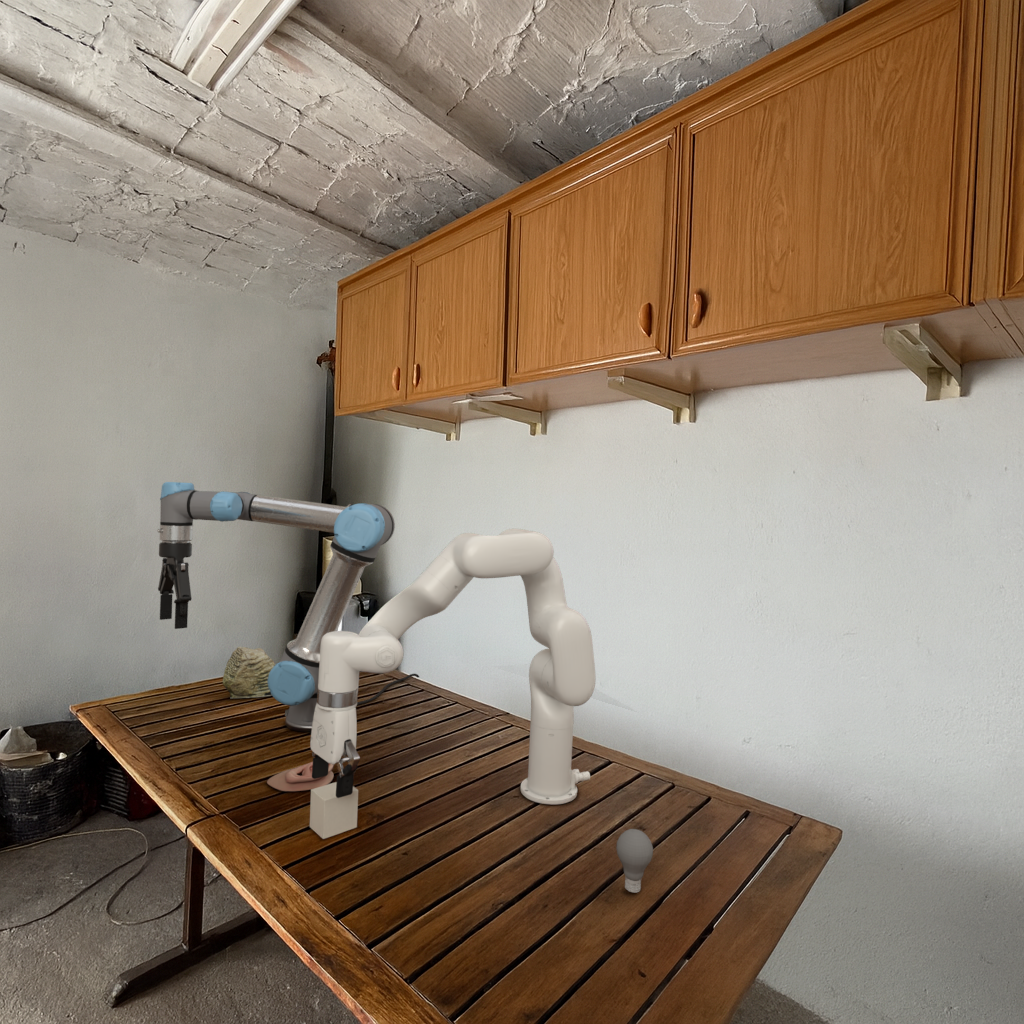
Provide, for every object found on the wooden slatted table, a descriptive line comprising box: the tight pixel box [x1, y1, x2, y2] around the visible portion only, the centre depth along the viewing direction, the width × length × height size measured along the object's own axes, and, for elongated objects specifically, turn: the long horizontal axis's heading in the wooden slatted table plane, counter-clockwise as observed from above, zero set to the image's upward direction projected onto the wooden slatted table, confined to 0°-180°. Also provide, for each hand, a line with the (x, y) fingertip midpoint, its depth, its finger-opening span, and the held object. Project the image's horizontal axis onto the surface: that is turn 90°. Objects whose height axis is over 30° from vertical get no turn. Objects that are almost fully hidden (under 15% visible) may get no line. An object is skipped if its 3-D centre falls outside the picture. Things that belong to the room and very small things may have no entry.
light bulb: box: [615, 828, 654, 894], centre depth 106 cm, size 6×6×10 cm
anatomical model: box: [266, 761, 335, 792], centre depth 140 cm, size 13×4×12 cm
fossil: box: [222, 646, 276, 699], centre depth 198 cm, size 9×18×15 cm, turn 132°
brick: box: [309, 781, 359, 840], centre depth 122 cm, size 6×7×7 cm
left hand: (173, 623), depth 164 cm, fingers open, 13 cm apart
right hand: (331, 785), depth 121 cm, fingers open, 9 cm apart
